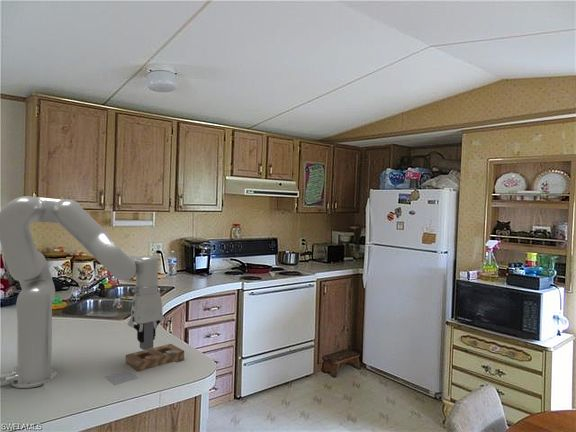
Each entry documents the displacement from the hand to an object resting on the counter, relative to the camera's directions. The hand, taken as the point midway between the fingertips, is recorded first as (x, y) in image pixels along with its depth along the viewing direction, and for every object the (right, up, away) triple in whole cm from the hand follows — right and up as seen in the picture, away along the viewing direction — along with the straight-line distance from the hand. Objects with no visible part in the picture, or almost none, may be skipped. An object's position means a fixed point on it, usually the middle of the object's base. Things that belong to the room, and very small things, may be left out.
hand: (146, 339), depth 145 cm
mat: (-4, -9, -12) cm, 16 cm away
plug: (0, -3, 0) cm, 3 cm away
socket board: (+2, -9, +3) cm, 10 cm away
